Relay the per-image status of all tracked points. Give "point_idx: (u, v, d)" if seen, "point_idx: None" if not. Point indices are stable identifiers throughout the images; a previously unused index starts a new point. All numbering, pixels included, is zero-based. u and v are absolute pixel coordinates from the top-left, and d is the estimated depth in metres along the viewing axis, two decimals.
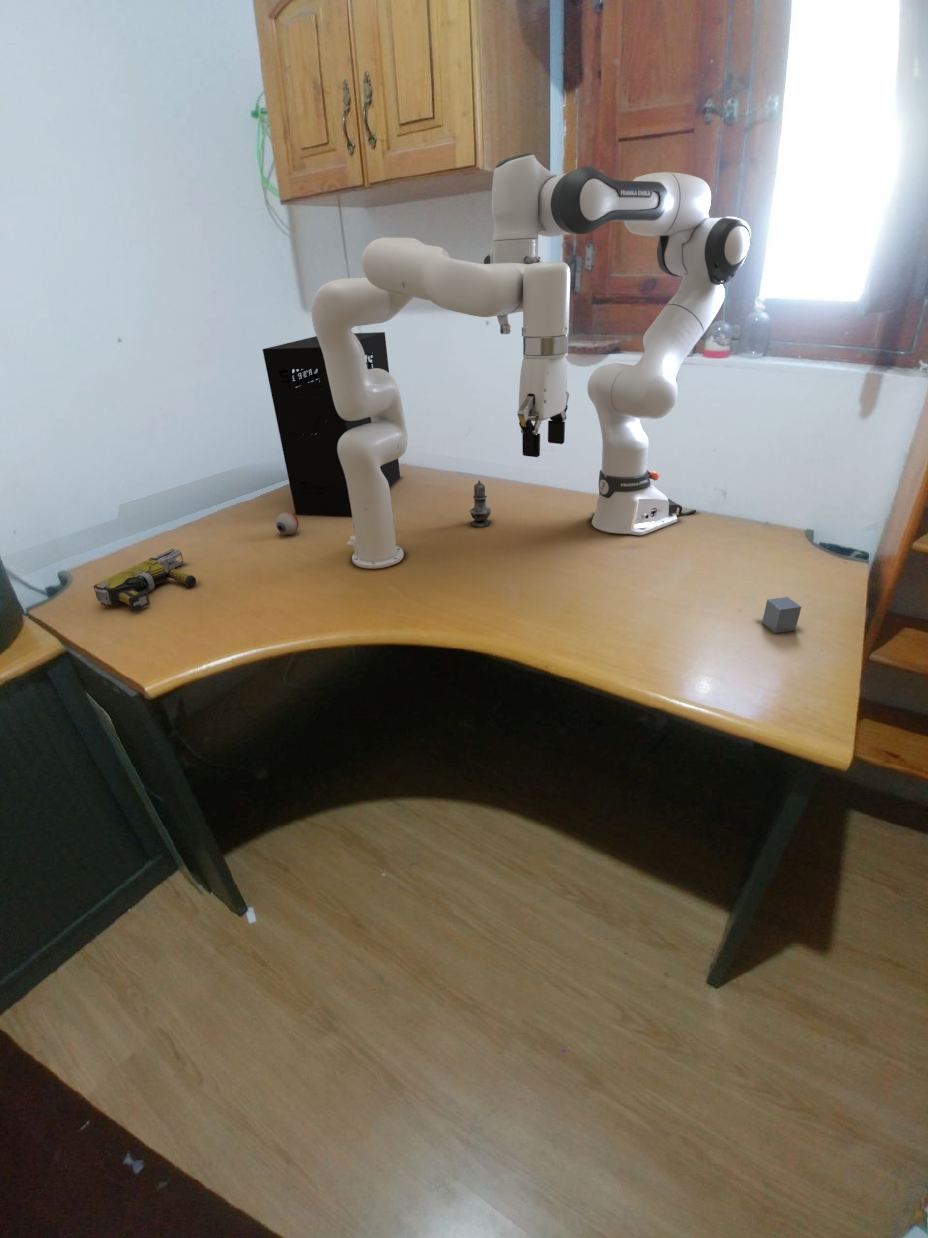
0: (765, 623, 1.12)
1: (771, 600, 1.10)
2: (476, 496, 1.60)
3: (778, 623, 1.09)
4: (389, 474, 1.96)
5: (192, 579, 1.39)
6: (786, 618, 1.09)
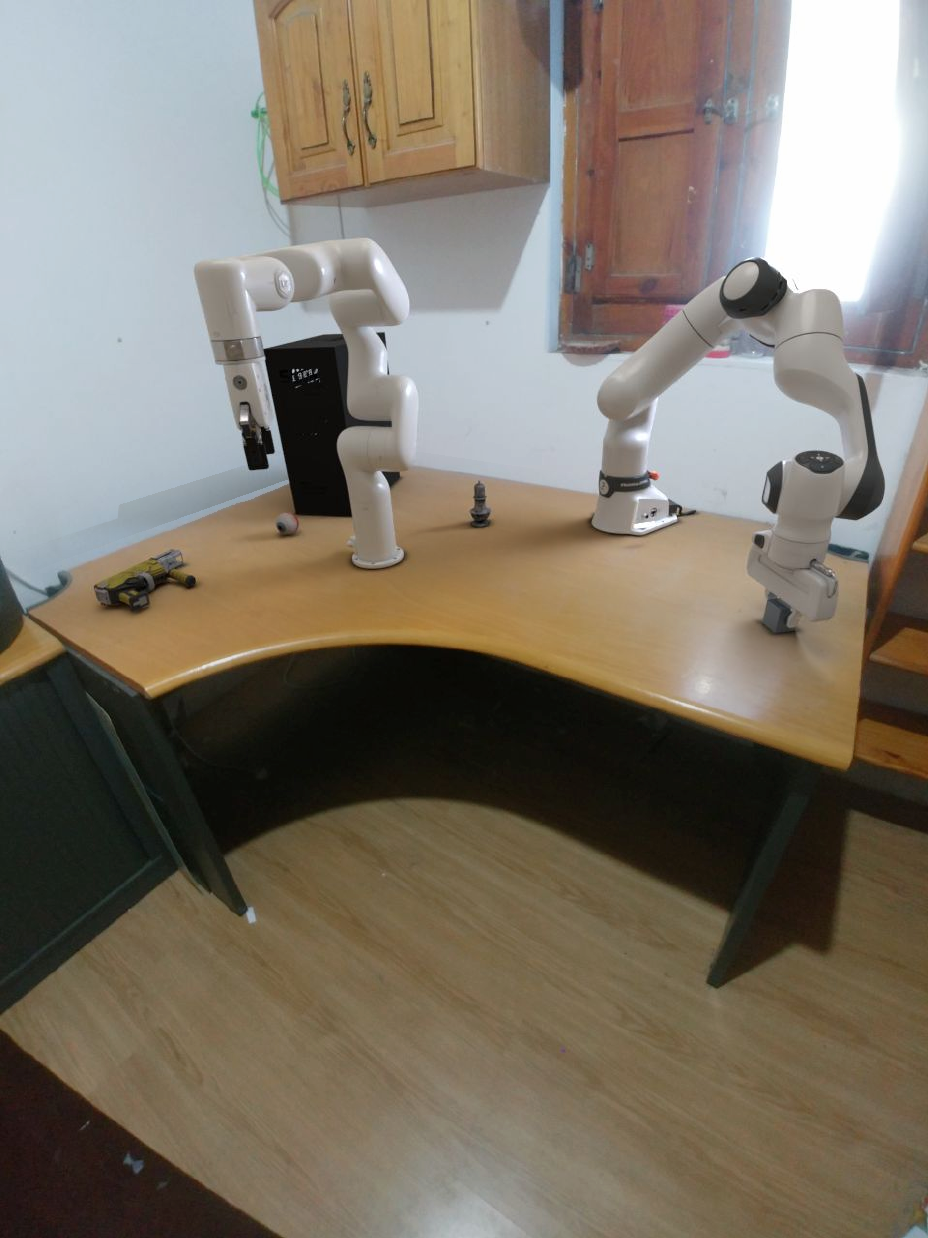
0: (765, 623, 1.12)
1: (771, 600, 1.10)
2: (476, 496, 1.60)
3: (778, 623, 1.09)
4: (389, 474, 1.96)
5: (192, 579, 1.39)
6: None
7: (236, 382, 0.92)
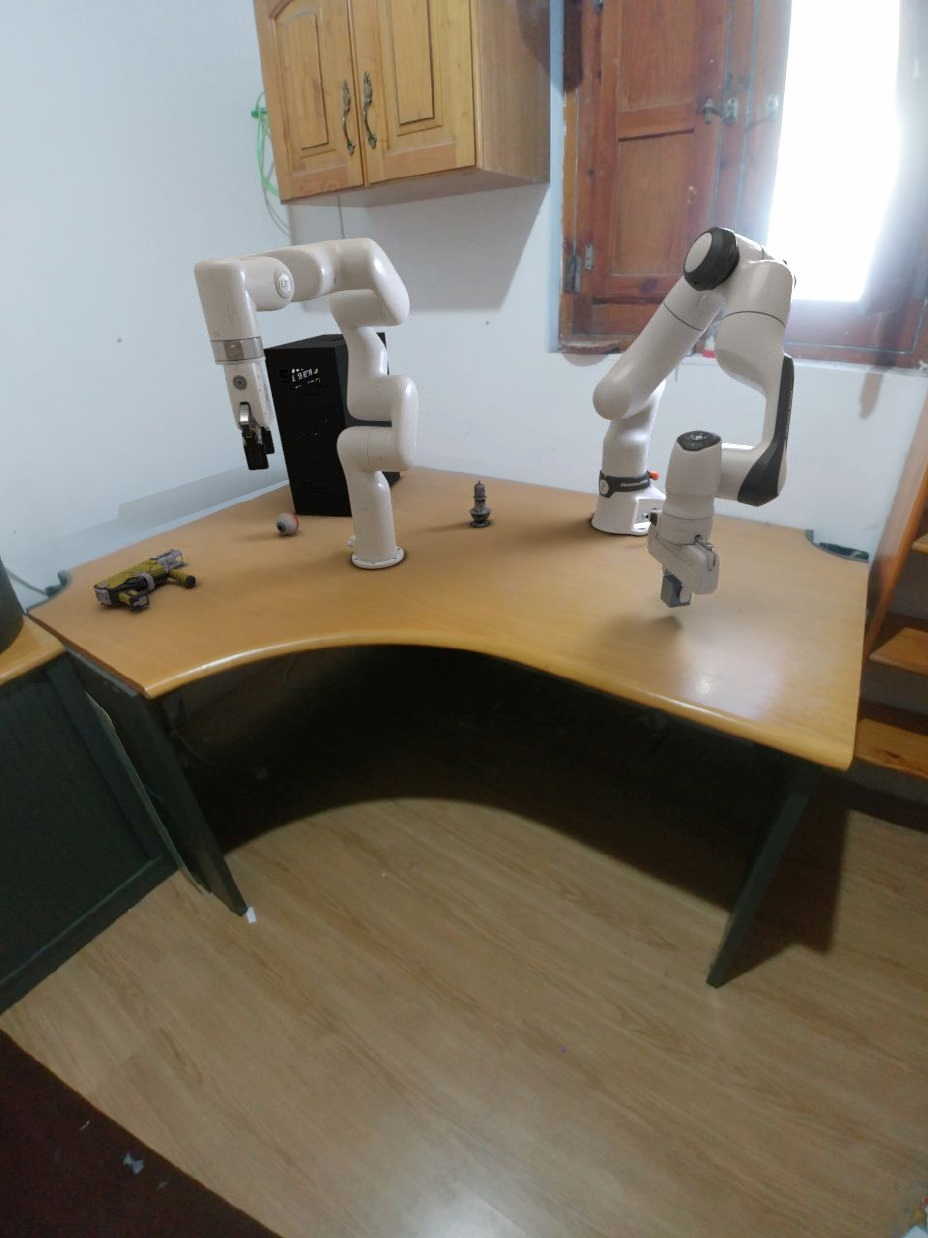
0: (662, 599, 1.17)
1: (666, 576, 1.15)
2: (476, 496, 1.60)
3: (672, 598, 1.13)
4: (389, 474, 1.96)
5: (192, 579, 1.39)
6: None
7: (236, 382, 0.92)
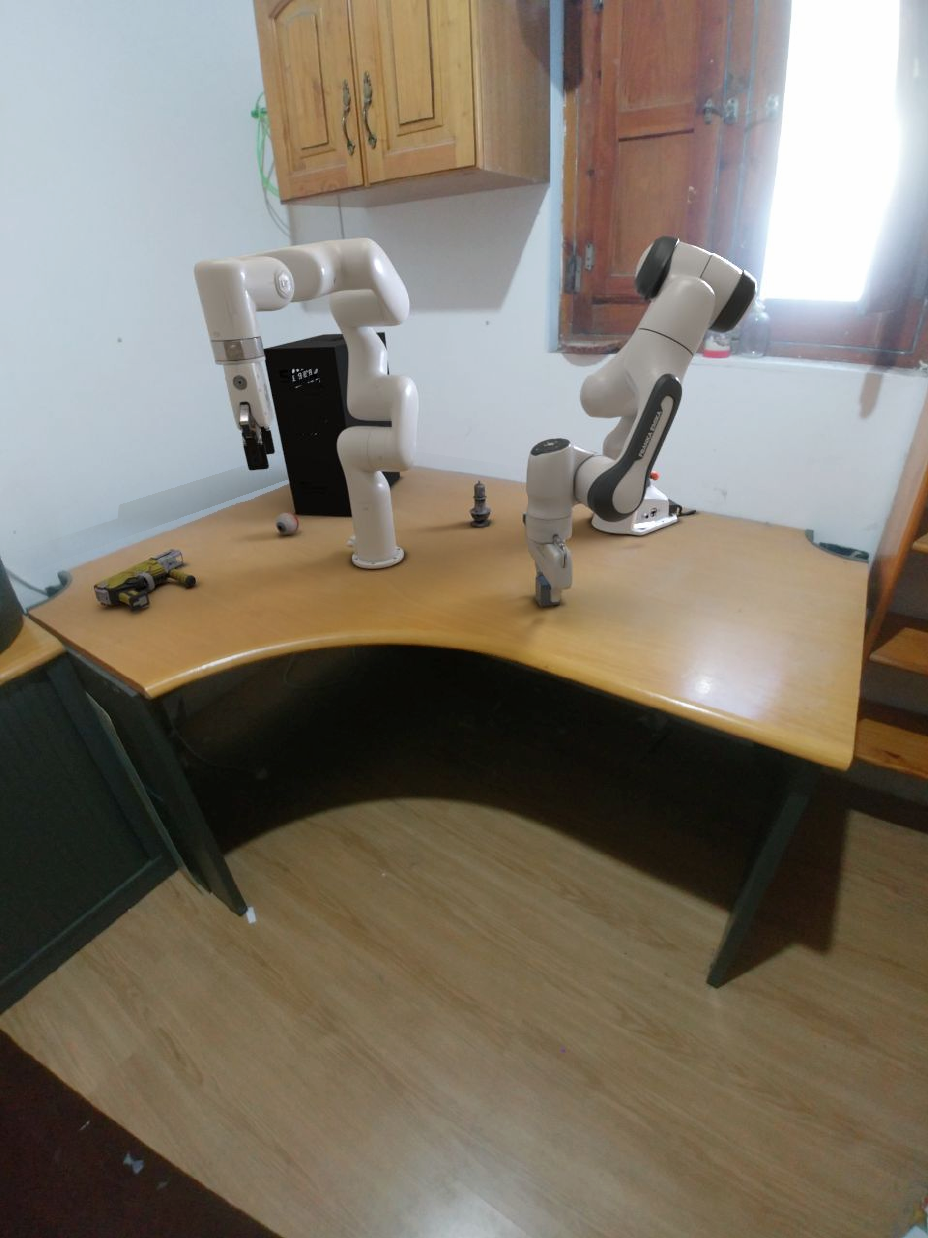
0: (536, 598, 1.25)
1: (538, 577, 1.23)
2: (476, 496, 1.60)
3: (542, 597, 1.22)
4: (389, 474, 1.96)
5: (192, 579, 1.39)
6: (548, 593, 1.22)
7: (236, 382, 0.92)
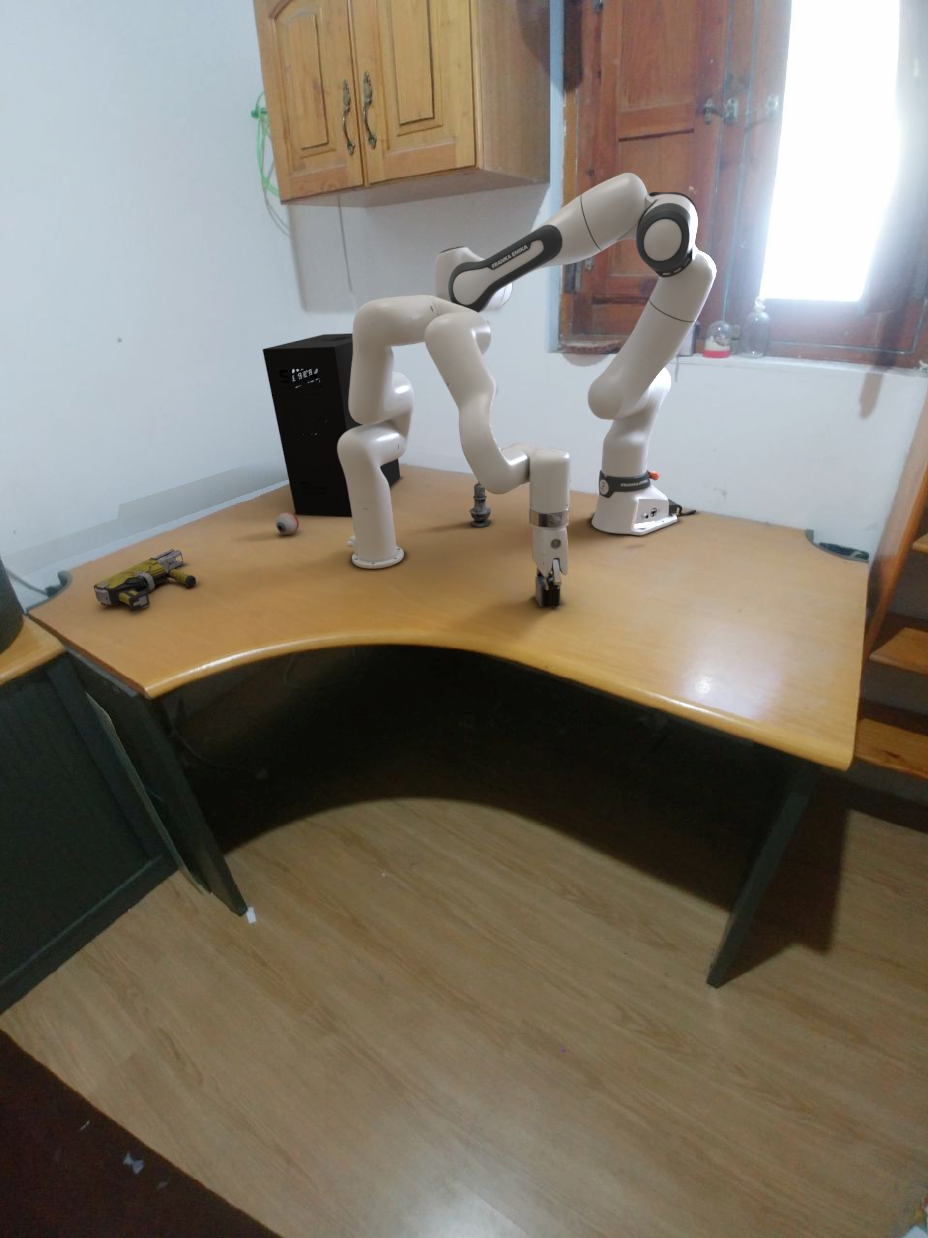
0: (536, 598, 1.25)
1: (538, 577, 1.23)
2: (476, 496, 1.60)
3: (542, 597, 1.22)
4: (389, 474, 1.96)
5: (192, 579, 1.39)
6: None
7: (551, 542, 1.14)
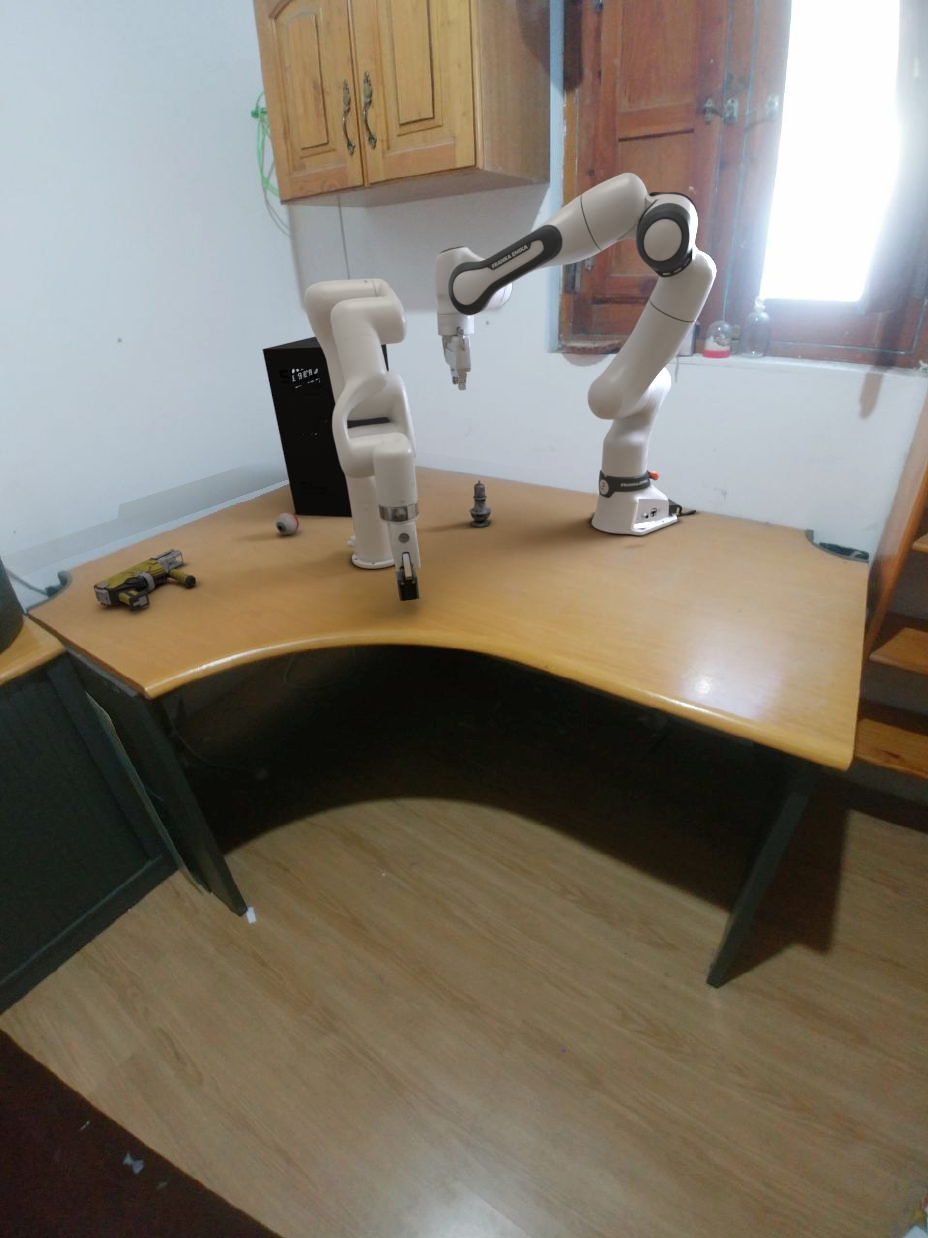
0: None
1: (397, 572, 1.23)
2: (476, 496, 1.60)
3: (400, 592, 1.21)
4: None
5: (192, 579, 1.39)
6: None
7: (399, 537, 1.14)
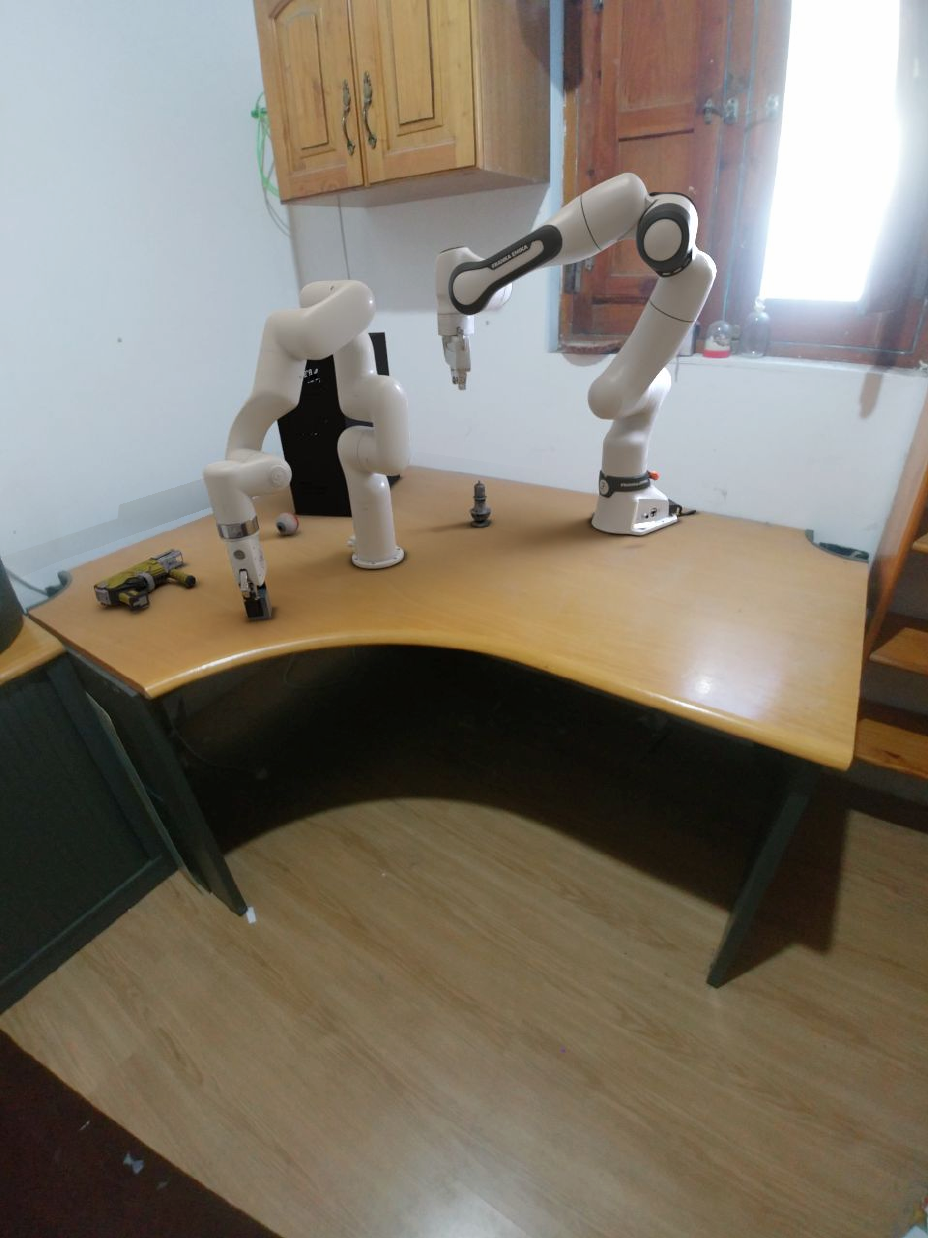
0: None
1: None
2: (476, 496, 1.60)
3: None
4: None
5: (192, 579, 1.39)
6: None
7: (236, 554, 1.15)
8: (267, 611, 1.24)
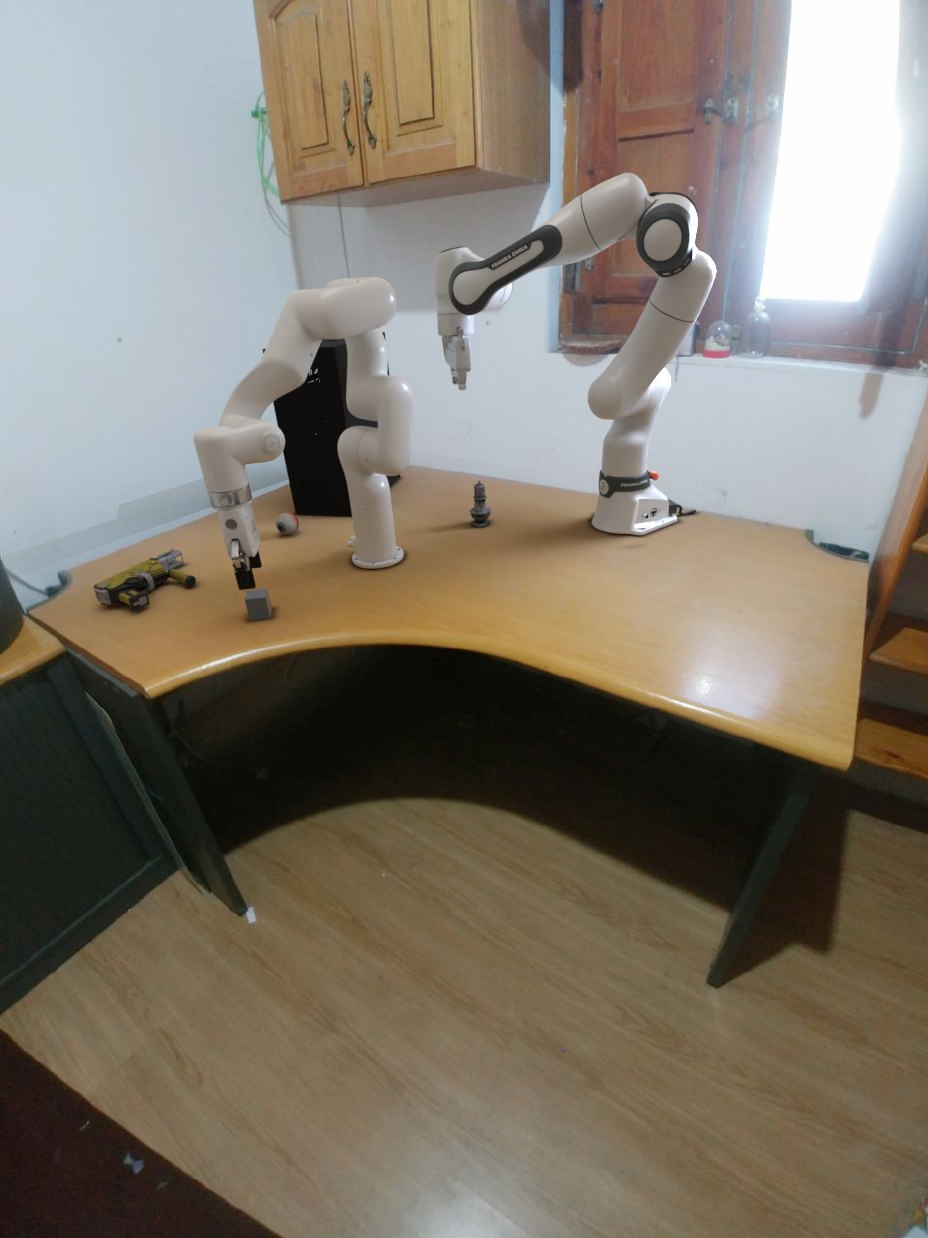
0: None
1: (249, 591, 1.25)
2: (476, 496, 1.60)
3: (249, 611, 1.23)
4: None
5: (192, 579, 1.39)
6: (255, 608, 1.23)
7: (228, 523, 1.12)
8: (267, 611, 1.24)
